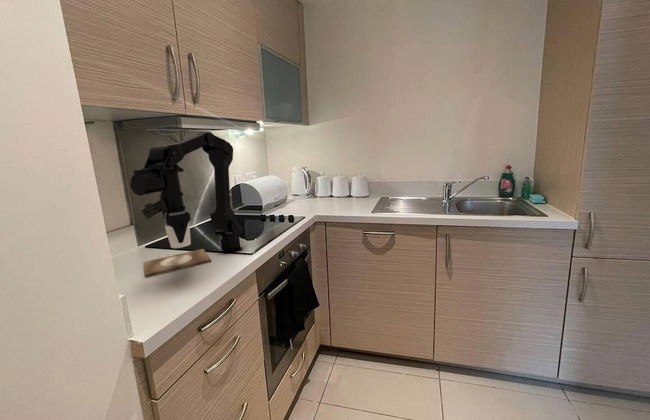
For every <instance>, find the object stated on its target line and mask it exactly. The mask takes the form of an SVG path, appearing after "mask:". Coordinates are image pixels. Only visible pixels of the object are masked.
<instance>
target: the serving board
mask: <svg viewBox="0 0 650 420" xmlns="http://www.w3.org/2000/svg"><path fill="white" fill-rule="evenodd" d="M211 262H212V259H211V257H210V256H209V254H208V253H207V252H206V250H205V249H204V248H201V249H196V250H192V251H187V252H182V253H178V254H173V255H168V256H165V257H159V258H156V259H150V260H146V261H143V263H142V265H143V272H144V274H143V275H144V278H146V279H147V278H151V277H154V276H159V275H163V274H166V273H167V274H168V273H170V272H175V271H179V270H184V269H187V268H191V267H196V266H200V265H203V264H208V263H211Z"/></svg>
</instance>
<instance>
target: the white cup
mask: <svg viewBox="0 0 650 420" xmlns="http://www.w3.org/2000/svg"><path fill="white" fill-rule="evenodd" d="M164 228H165V232H166V235H167V239H168V242H169V245H170V248H172V249H181V248H184V247H188V246H190V245H191V243H192V242H191V230H190V229H191V228H190V222H189V223H188V226H187V229H186V233H185V237H184V241H183V243H179V242H178V239H177V237H176V234H175V232H174V230H173V228H172V227H171V226H169V225H167V224H166V223H165V224H164Z"/></svg>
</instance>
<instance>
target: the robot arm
mask: <svg viewBox="0 0 650 420" xmlns="http://www.w3.org/2000/svg"><path fill="white" fill-rule="evenodd" d="M199 149H201V150H202V151H203V152H204V153H206V155H207V154H208V160H209V162H210V164H211V165H212V166H213V171H214V173H213V174H214V190H215V191H214V193H215V195H214V196H215V209H214V211H213V212H211V213H210V215H209V216H210V223H209V224H210V225H211V228H212V230H213V231H214V234H215V236H219V239H218V242H219V248H220V251H221V252H223V254H229V253H233V252H234V253H235V252H237V251H242V250H243V247H241V240H240V235H241V234H242V233H243V226H242V225H241V224H240V223H239V222H238V221H237V217H236V213H235V211H234V210H233V208H232V207H231V186H230V171H229V170H230V169H229V168H230V166H231V164H232V162H233V158H234V148H233V146H232V145H231V143H230V142H229V141H227V140H225V139H224V138H221V137H219V136H216V135H215V134H213V133H212V132H209V131H205V132H204V131H203V132H198V133H196V134H194V135H192V136H190V137H187V138H184V139H182V140H179V141H177V142H174V143H170V144H169V143H168V144H163V145H162V144H160V145H153V146H152V147H150V148H149V152H148V156H147V159H146V161H145V163H144V165H143V168H141V169H133V175H132V176H131V177H130V178H131V179H130V182H129V186H130V189H131V190H132V192H133V193H134V195H136V196H140V197H141V196H145V195H150V194H154V193H159V194H158V198H157V199H156V200H154V201H151V202H150V201H148V203H147V204H146V203H145V204H144V205H143V206H142V207H140V208H139V209H140V212H141V213H142V214H143V216H144V217H145V219H146V220H149V219H151V218H152V217H154V216H155V215H158V214H159V213H161V216H162V218H163V219H164V222H165V224H167V225H169V226H171V227H172V228H173V230H174V232H175V234H176V237H177V239H178V242H179V243H183V241H184V237H185V233H186V229H187V226H188V223H189V224H190V221H191V220H192V218H191V214H190V213H191V212H189V211H187V209H186V206H185V204H184V197H183V196H184V193H183V191H182V186H181V180H180V175H179V173H182V172H184V168H182V167H181V166H179V163H181V161H183V160H184V157H185V156H186V155H188V154H190V153H192V152H195V151H197V150H199Z"/></svg>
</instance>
